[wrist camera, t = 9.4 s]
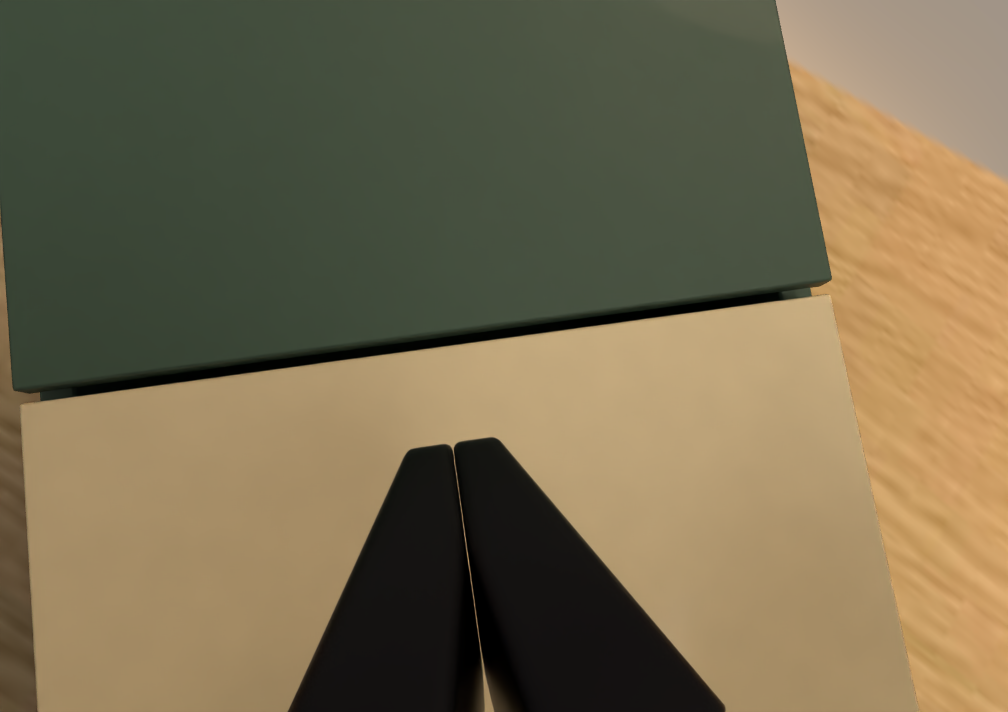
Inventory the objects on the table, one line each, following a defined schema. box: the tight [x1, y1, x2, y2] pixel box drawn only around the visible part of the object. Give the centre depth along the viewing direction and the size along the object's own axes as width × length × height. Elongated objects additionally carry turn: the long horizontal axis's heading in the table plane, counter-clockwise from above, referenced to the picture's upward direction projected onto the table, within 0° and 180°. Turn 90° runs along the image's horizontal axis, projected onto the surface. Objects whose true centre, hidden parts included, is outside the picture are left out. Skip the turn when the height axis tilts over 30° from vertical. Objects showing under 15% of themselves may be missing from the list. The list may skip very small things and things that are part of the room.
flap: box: [20, 294, 919, 712], centre depth 11 cm, size 6×11×1 cm, turn 98°
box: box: [0, 0, 832, 401], centre depth 16 cm, size 13×11×9 cm
